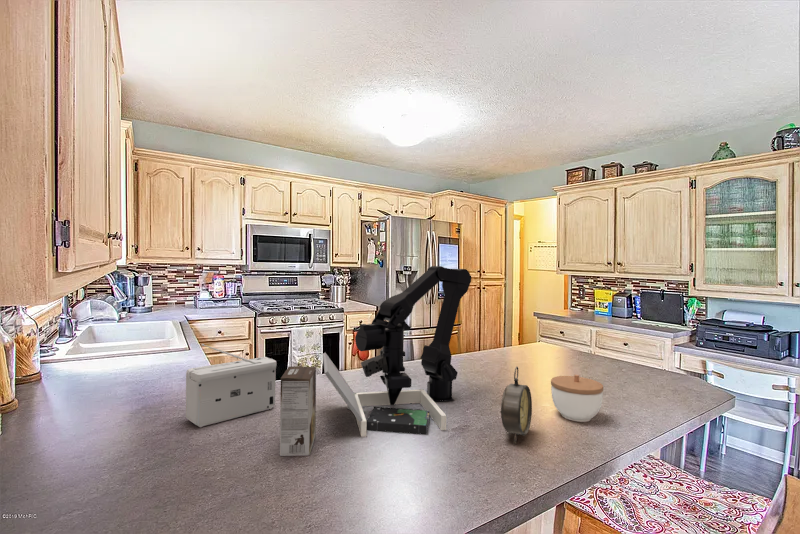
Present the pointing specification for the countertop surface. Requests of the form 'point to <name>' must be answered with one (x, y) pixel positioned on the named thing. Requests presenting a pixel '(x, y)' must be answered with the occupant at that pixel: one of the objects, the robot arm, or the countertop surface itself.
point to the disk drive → (398, 420)
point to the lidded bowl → (576, 397)
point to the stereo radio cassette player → (229, 389)
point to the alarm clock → (516, 408)
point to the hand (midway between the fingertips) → (392, 404)
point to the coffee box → (297, 411)
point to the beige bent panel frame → (378, 398)
